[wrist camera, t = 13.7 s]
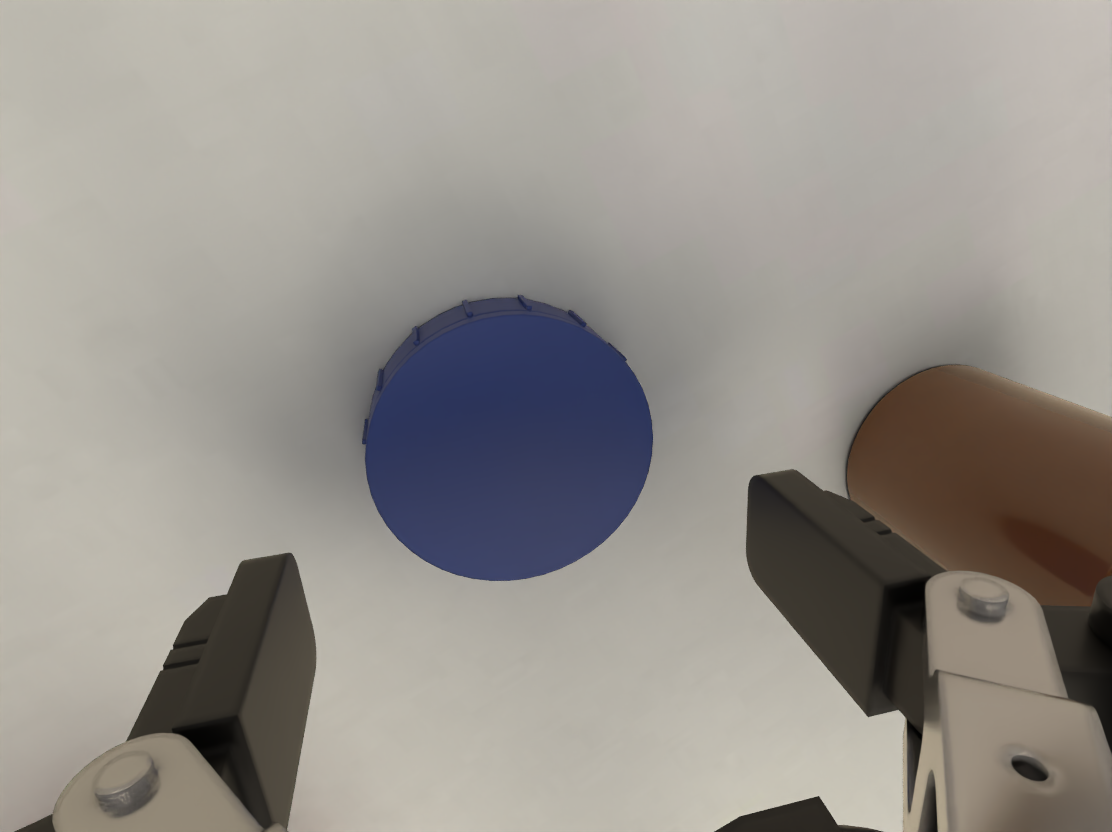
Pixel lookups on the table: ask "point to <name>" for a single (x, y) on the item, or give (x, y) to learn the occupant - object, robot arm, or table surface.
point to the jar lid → (506, 440)
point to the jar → (991, 480)
